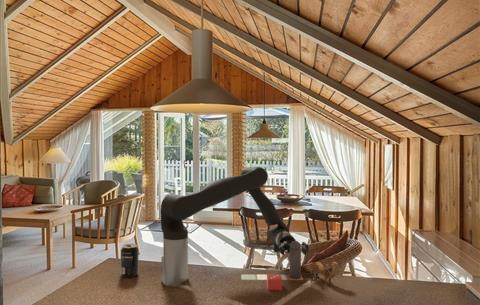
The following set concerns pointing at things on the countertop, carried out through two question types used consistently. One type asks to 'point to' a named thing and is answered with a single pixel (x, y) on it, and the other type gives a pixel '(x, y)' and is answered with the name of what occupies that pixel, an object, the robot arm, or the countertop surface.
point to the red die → (274, 282)
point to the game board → (264, 277)
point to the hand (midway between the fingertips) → (294, 252)
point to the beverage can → (129, 260)
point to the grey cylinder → (295, 260)
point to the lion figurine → (326, 271)
